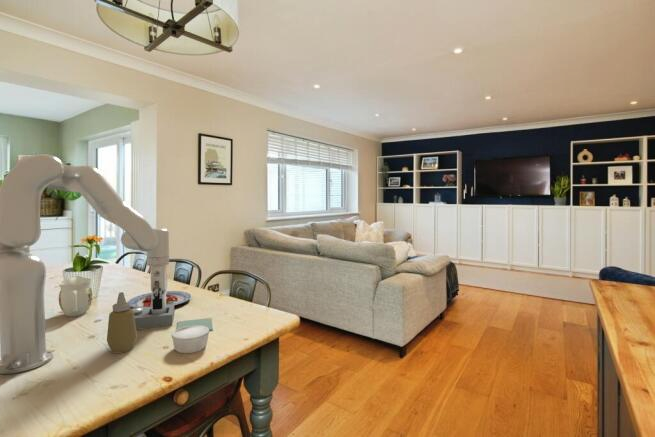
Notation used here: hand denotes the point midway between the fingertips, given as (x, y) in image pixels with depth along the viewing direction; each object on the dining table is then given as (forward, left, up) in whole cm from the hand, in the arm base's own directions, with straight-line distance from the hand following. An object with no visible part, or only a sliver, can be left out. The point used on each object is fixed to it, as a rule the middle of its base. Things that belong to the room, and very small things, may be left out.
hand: (158, 305), depth 129 cm
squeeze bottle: (-23, +8, -6) cm, 25 cm away
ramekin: (-28, -12, -7) cm, 31 cm away
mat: (-10, -13, -6) cm, 18 cm away
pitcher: (+19, +32, -6) cm, 38 cm away
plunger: (0, +7, -5) cm, 9 cm away
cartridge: (0, 0, -6) cm, 6 cm away
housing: (0, +3, -6) cm, 7 cm away
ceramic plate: (+25, +2, -7) cm, 26 cm away
